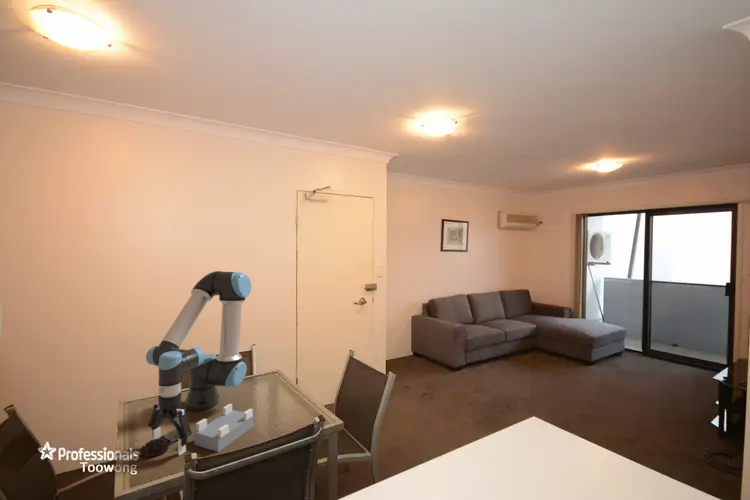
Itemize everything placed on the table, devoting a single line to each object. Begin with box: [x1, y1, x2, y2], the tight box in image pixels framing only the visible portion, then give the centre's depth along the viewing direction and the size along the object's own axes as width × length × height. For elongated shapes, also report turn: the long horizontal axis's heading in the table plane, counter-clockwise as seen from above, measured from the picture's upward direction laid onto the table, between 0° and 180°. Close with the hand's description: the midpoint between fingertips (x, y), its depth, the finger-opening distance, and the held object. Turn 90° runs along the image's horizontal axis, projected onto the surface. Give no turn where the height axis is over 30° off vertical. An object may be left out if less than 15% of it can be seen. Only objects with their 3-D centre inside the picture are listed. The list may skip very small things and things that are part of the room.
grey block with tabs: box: [193, 403, 255, 453], centre depth 145 cm, size 12×20×8 cm, turn 160°
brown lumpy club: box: [138, 428, 180, 459], centre depth 136 cm, size 18×7×6 cm, turn 161°
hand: (169, 449), depth 135 cm, fingers open, 12 cm apart
